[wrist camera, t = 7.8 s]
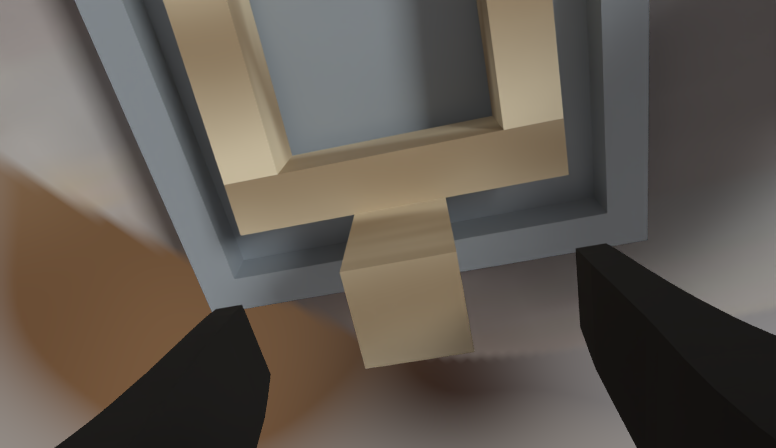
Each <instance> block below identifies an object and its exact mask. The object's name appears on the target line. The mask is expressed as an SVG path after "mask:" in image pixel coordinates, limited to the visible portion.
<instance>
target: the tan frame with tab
mask: <svg viewBox="0 0 776 448" xmlns="http://www.w3.org/2000/svg"><path fill="white" fill-rule="evenodd" d="M163 2H164V5H165V8H166V11H167V14H168V17H169V20H170V23H171V26H172V29H173V32H174V35H175V38H176V41H177V44H178V47H179V50H180V53H181V56H182V59H183V62H184V65H185V68H186V71H187V74H188V77H189V80H190V83H191V86H192V89H193V93H194V96H195V99H196V102H197V105H198V108H199V111H200V114H201V117H202V120H203V123H204V126H205V129H206V132H207V135H208V138H209V141H210V144H211V147H212V150H213V153H214V156H215V159H216V162H217V165H218V168H219V171H220V174H221V177H222V180H223V183H224V186H225V189H226V192H227V196H228V199H229V202H230V205H231V208H232V211H233V214H234V217H235V220H236V223H237V226H238V229H239V232H240V235H241V236H242V235H247V234H253V233H258V232H264V231H269V230H274V229H280V228H285V227H290V226H296V225H301V224H307V223H312V222H317V221H323V220H328V219H334V218H339V217H344V216H350V215H354V218H353V222H352V226H351V230H350V234H349V238H348V242H347V245H346V249H345V253H344V257H343V261H342V265H341V269H340V276H341V279H342V283H343V287H344V291H345V294H346V298H347V302H348V306H349V309H350V313H351V317H352V321H353V324H354V328H355V332H356V336H357V339H358V343H359V347H360V351H361V354H362V358H363V362H364V365H365V368H366V369H368V368H374V367H381V366H387V365H394V364H400V363H406V362H413V361H420V360H426V359H433V358H439V357H446V356H452V355H458V354H465V353H471V352H474V347H473V342H472V336H471V330H470V325H469V319H468V314H467V308H466V302H465V297H464V291H463V286H462V280H461V275H460V269H459V263H458V258H457V252H456V247H455V242H454V237H453V232H452V227H451V222H450V218H449V213H448V208H447V203H446V198H447V197H452V196H457V195H463V194H468V193H473V192H479V191H484V190H490V189H495V188H500V187H506V186H511V185H517V184H522V183H527V182H533V181H538V180H543V179H549V178H554V177H560V176H565V175H569V171H568V160H567V149H566V139H565V128H564V117H563V107H562V96H561V85H560V75H559V64H558V53H557V43H556V32H555V21H554V11H553V0H476V2H477V9H478V16H479V23H480V31H481V38H482V45H483V52H484V59H485V66H486V73H487V81H488V88H489V95H490V102H491V109H492V116H489V117H484V118H479V119H474V120H469V121H464V122H459V123H454V124H449V125H444V126H439V127H434V128H429V129H424V130H419V131H414V132H409V133H404V134H399V135H394V136H389V137H384V138H379V139H374V140H369V141H364V142H359V143H354V144H349V145H344V146H339V147H334V148H329V149H323V150H318V151H313V152H308V153H303V154H298V155H293V156H292V153H291V149H290V146H289V142H288V138H287V135H286V131H285V128H284V124H283V120H282V117H281V113H280V110H279V106H278V102H277V99H276V95H275V92H274V88H273V84H272V81H271V77H270V74H269V70H268V66H267V63H266V59H265V56H264V52H263V48H262V45H261V41H260V38H259V34H258V30H257V27H256V23H255V20H254V16H253V12H252V9H251V5H250V2H249V0H163Z"/></svg>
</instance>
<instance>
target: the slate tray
mask: <svg viewBox="0 0 776 448" xmlns="http://www.w3.org/2000/svg"><path fill="white" fill-rule="evenodd" d="M249 2H250V5H251V9H252V12H253V16H254V20H255V23H256V27H257V30H258V34H259V38H260V41H261V45H262V48H263V52H264V56H265V59H266V63H267V66H268V70H269V74H270V77H271V81H272V84H273V88H274V92H275V95H276V99H277V102H278V106H279V110H280V113H281V117H282V120H283V124H284V128H285V131H286V135H287V138H288V142H289V146H290V149H291V153H292V156H293V155H298V154H303V153H308V152H313V151H318V150H323V149H329V148H334V147H339V146H344V145H349V144H354V143H359V142H364V141H369V140H374V139H379V138H384V137H389V136H394V135H399V134H404V133H409V132H414V131H419V130H424V129H429V128H434V127H439V126H444V125H449V124H454V123H459V122H464V121H469V120H474V119H479V118H484V117H489V116H492V109H491V102H490V95H489V88H488V81H487V73H486V66H485V59H484V52H483V45H482V38H481V31H480V23H479V16H478V9H477V2H476V0H249ZM75 3H76V5H77V7H78V9H79V12H80V14H81V16H82V19H83V21H84V23H85V25H86V28H87V30H88V32H89V34H90V37H91V39H92V41H93V44H94V46H95V48H96V50H97V53H98V55H99V57H100V59H101V62H102V64H103V66H104V68H105V71H106V73H107V75H108V78H109V80H110V82H111V84H112V87H113V89H114V91H115V93H116V96H117V98H118V100H119V102H120V105H121V107H122V109H123V112H124V114H125V116H126V118H127V121H128V123H129V125H130V127H131V130H132V132H133V134H134V136H135V139H136V141H137V143H138V146H139V148H140V150H141V152H142V155H143V157H144V159H145V161H146V164H147V166H148V168H149V171H150V173H151V175H152V177H153V180H154V182H155V184H156V186H157V189H158V191H159V193H160V195H161V198H162V200H163V202H164V205H165V207H166V209H167V211H168V214H169V216H170V218H171V220H172V223H173V225H174V227H175V229H176V232H177V234H178V236H179V239H180V241H181V243H182V245H183V248H184V250H185V252H186V254H187V257H188V259H189V261H190V263H191V266H192V268H193V270H194V272H195V275H196V277H197V279H198V282H199V284H200V286H201V288H202V291H203V293H204V295H205V297H206V300H207V302H208V304H209V307H210V309H211V311H212V312H213V311H214V310H215V309H219V308H225V307H231V306H237V305H242V306H243V308H244V309H246V308H252V307H258V306H264V305H270V304H276V303H282V302H288V301H293V300H299V299H305V298H311V297H317V296H323V295H329V294H334V293H340V292H345V291H344V287H343V283H342V279H341V276H340V269H341V265H342V261H343V257H344V253H345V249H346V245H347V242H348V238H349V234H350V230H351V226H352V222H353V218H354V215H350V216H344V217H339V218H334V219H328V220H323V221H317V222H312V223H307V224H301V225H296V226H290V227H285V228H280V229H274V230H269V231H264V232H258V233H253V234H247V235H242V236H241V235H240V232H239V229H238V226H237V223H236V220H235V217H234V214H233V211H232V208H231V205H230V202H229V199H228V196H227V192H226V189H225V186H224V183H223V180H222V177H221V174H220V171H219V168H218V165H217V162H216V159H215V156H214V153H213V150H212V147H211V144H210V141H209V138H208V135H207V132H206V129H205V126H204V123H203V120H202V117H201V114H200V111H199V108H198V105H197V102H196V99H195V96H194V93H193V89H192V86H191V83H190V80H189V77H188V74H187V71H186V68H185V65H184V62H183V59H182V56H181V53H180V50H179V47H178V44H177V41H176V38H175V35H174V32H173V29H172V26H171V23H170V20H169V17H168V14H167V11H166V8H165V5H164V2H163V0H75ZM553 11H554V21H555V32H556V43H557V53H558V64H559V75H560V85H561V96H562V107H563V117H564V128H565V139H566V149H567V160H568V171H569V175H565V176H560V177H554V178H549V179H543V180H538V181H533V182H527V183H522V184H517V185H511V186H506V187H500V188H495V189H490V190H484V191H479V192H473V193H468V194H463V195H457V196H452V197H447V198H446V203H447V208H448V213H449V218H450V222H451V227H452V232H453V237H454V242H455V247H456V252H457V258H458V263H459V269H460V272H463V271H469V270H475V269H481V268H487V267H493V266H498V265H504V264H510V263H516V262H522V261H528V260H534V259H539V258H545V257H551V256H557V255H563V254H569V253H575V252H576V248H580V247H586V246H592V245H598V244H604V243H607V244H608V245H610V246H616V245H621V244H627V243H633V242H639V241H645V240H648V119H649V0H553Z"/></svg>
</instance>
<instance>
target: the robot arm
mask: <svg viewBox="0 0 776 448" xmlns="http://www.w3.org/2000/svg"><path fill="white" fill-rule="evenodd" d="M576 264H577V280H578V296H579V312H580V327H581V330H582V333H583V336H584V338H585V341H586V344H587V347H588V350H589V352H590V355H591V357H592V360H593V363H594V365H595V368H596V370H597V372H598V374H599V376H600V378H601V380H602V382H603V384H604V386H605V388H606V390H607V392H608V394H609V396H610V398H611V399H612V401H613V403H614V405H615V407H616V409H617V411H618V413H619V415H620V417H621V418H622V420H623V422H624V424H625V426H626V428H627V430H628V432H629V434H630V436H631V437H632V439H633V441H634V443H635V445H636V447H637V448H776V335H773V334H771V333H768V332H766V331H763V330H762V329H759V328H757V327H754V326H752V325H750V324H748V323H746V322H744V321H741V320H739V319H737V318H735V317H733V316H731V315H729V314H727V313H725V312H723V311H721V310H719V309H717V308H715V307H713V306H711V305H709V304H707V303H706V302H704V301H702V300H700V299H698V298H696V297H694V296H693V295H691V294H689V293H687V292H685V291H684V290H682V289H680V288H678V287H677V286H675V285H673V284H671V283H670V282H668V281H666V280H665V279H663V278H661V277H660V276H658V275H656V274H655V273H653V272H652V271H650V270H648V269H647V268H645V267H644V266H642V265H640V264H639V263H637V262H636V261H634V260H632V259H631V258H629V257H628V256H626V255H625V254H623V253H621V252H620V251H618V250H617V249H615V248H613V247H612V246H610V245H608V244H607V243H604V244H598V245H592V246H586V247H580V248H576ZM269 383H270V372H269V369H268V367H267V365H266V362H265V360H264V357H263V355H262V352H261V350H260V347H259V345H258V343H257V340H256V338H255V335H254V333H253V330H252V328H251V326H250V323H249V320H248V318H247V315H246V313H245V311H244V308H243V306H242V305H237V306H231V307H225V308H219V309H215V310H214V311H213V312H212V313H210V314H209V315H208V316H207V317H206V318H204V319H203V320H202V321H201V322H200V323H199V324H198V325H197V326H196V327H195V328H193V330H191V331H190V332H189V333H188V334H187V335H186V336H185V337H184V338H183V339H182V340H181V341H180V342H179V343H178V344H177V345H176V346H175V347H173V348H172V349H171V350H170V351H169V352H168V353H167V354H166V355H165V356H164V357H163V358H162V359H161V360H160V361H159V362H158V363H156V365H154V366H153V367H152V368H151V369H150V370H149V371H148V372H147V373H146V374H145V375H143V376H142V377H141V378H140V379H139V380H138V381H137V382H136V383H134V384H133V385H132V386H131V387H130V388H129V389H127V390H126V391H125V392H124V393H123V394H122V395H121V396H119V397H118V398H117V399H116V400H115V401H114V402H113V403H112V404H110V405H109V406H108V407H107V408H106V409H104V410H103V411H102V412H101V413H100V414H98V415H97V416H96V417H95V418H93V419H92V420H91V421H90V422H88V423H87V424H86V425H84V426H83V427H82V428H80V429H79V430H78V431H76V432H75V433H74V434H73V435H71V436H70V437H68V438H67V439H66V440H65V441H63V442H62V443H61V444H59V445H58V446H56V447H55V448H257V444H258V440H259V437H260V433H261V429H262V426H263V422H264V418H265V412H266V406H267V399H268V392H269Z"/></svg>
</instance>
